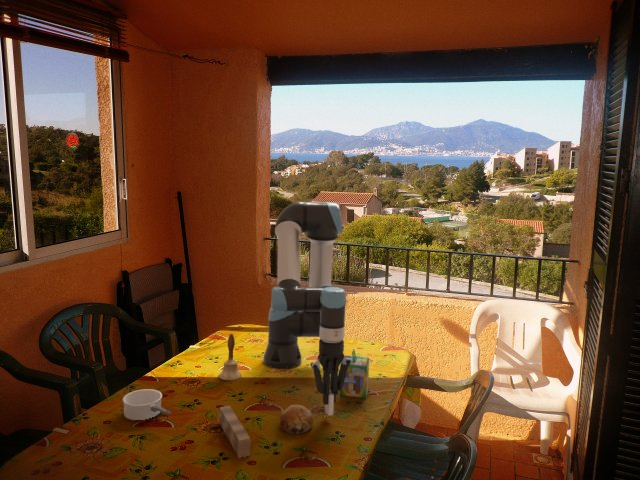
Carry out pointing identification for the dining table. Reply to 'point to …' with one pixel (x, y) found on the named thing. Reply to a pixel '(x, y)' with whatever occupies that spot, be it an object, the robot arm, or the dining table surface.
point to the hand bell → (230, 363)
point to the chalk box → (356, 377)
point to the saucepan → (143, 404)
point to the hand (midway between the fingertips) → (329, 413)
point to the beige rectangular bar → (235, 431)
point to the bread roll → (296, 419)
